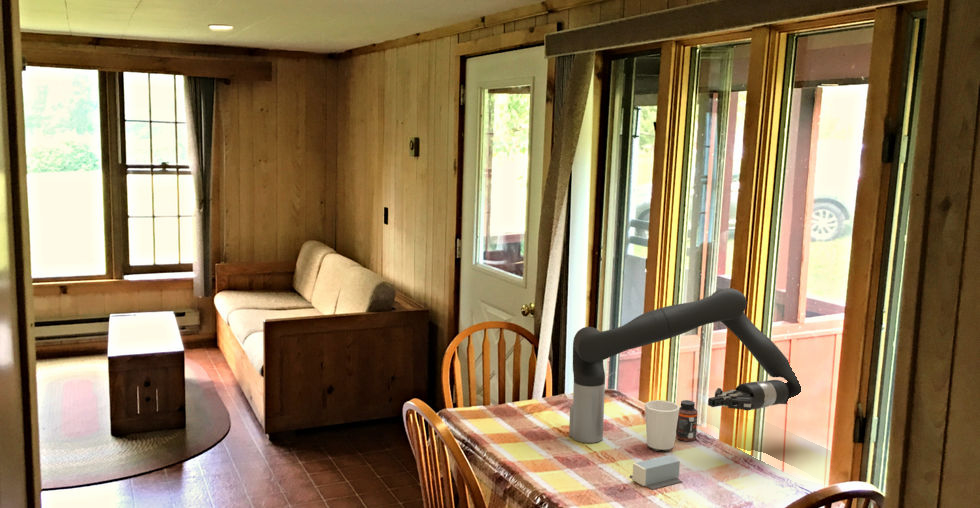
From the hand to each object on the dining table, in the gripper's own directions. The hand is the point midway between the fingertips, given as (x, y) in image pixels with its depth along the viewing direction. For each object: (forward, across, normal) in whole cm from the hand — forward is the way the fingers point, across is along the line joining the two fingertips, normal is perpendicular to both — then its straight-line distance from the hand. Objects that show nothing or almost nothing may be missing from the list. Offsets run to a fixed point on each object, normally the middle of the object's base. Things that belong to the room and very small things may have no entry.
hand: (710, 402), depth 222 cm
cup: (+2, -16, +18) cm, 24 cm away
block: (+12, +1, +16) cm, 20 cm away
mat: (+18, +1, +18) cm, 26 cm away
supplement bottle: (-10, -18, +18) cm, 27 cm away
